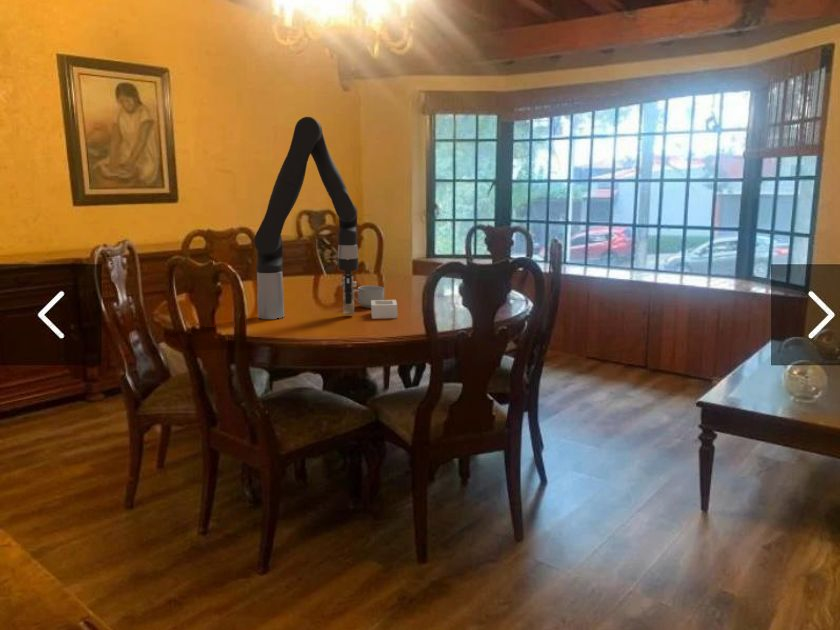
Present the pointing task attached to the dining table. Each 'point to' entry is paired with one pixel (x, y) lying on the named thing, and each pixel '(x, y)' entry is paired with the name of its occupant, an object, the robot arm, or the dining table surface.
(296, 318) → the dining table surface
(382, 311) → the well
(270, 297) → the robot arm
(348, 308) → the bracket
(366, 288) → the teacup
